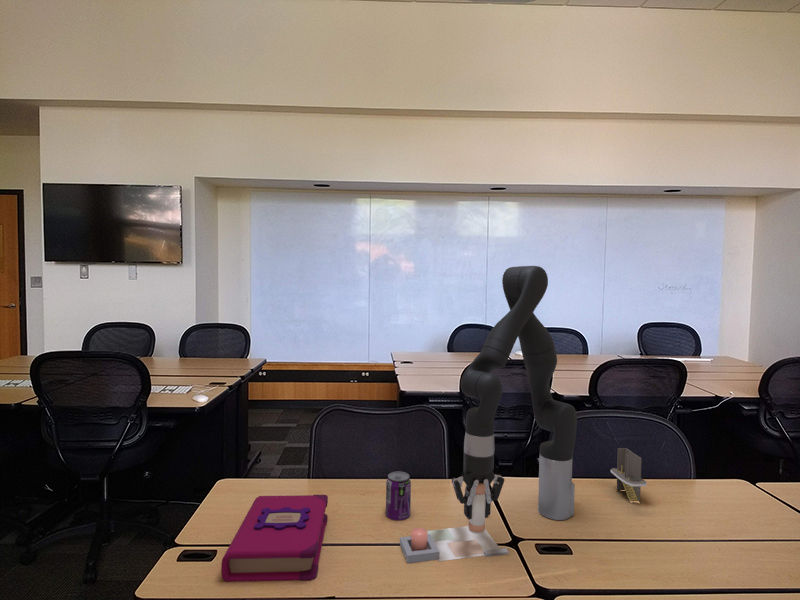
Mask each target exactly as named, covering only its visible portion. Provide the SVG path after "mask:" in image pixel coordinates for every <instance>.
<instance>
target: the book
mask: <svg viewBox="0 0 800 600" xmlns="http://www.w3.org/2000/svg"><path fill="white" fill-rule="evenodd" d="M328 497H329V496H328V495H326V494H313V495H311V494H310V495H308V494H307V495H305V494H303V495H302V494H301V495H258V496H257V497H256V498H255V499H254V500H253V503H252V504H251V506H250V508H249V509H248V511H247V514H246V515H245V517H244V519H243V521H242V522H241V524H240V525H239V528H238V530H237V532H236V534H235V536H234V537H233V539H232V541H231V543H230V544H229V546H228V548H227V550H226V552H224V553H225V554H224V555H223V557H222V559H221V565H220V566H221V567H220V569H221V571H220V572H221V578H222V579H223V581H224V582H225V583H234V582H235V583H237V582H241V583H243V582H245V583H246V582H278V581H280V582H283V581H285V582H286V581H288V582H291V581H299V582H302V581H303V582H304V581H306V582H307V581H311V582H312V581H313V580H315V579H316V578H317V577H318V573H319V572H318V571H319V563H320V556H321V554H322V553H321V552H322V547H323V542H324V538H325V537H324V536H325V532H326V531H325V530H326V527H327V523H328V521H329V519H328V514H327V513H326V511H327V510H326V509H327V507H328V502H329V498H328Z"/></svg>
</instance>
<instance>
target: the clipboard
mask: <svg viewBox="0 0 800 600" xmlns="http://www.w3.org/2000/svg"><path fill="white" fill-rule="evenodd" d="M427 532H428V533H427V534H430V535H431V537H432V539H433V541H434V542H435V544H436V546H437V548H438V550H439V552H440V556H439V559H437V562H444V561H453V560H461V559H467V558H475V557H483V556H485V558H490V557H498V556H505V555H509V554H510V551H508V549H507V547H502V548H501V547H500V546H499V545H498V544H497V542H496V541H495V539H493V537H492V536H491V535H490V533H489V532H488V531H487V529H485V531H484V533H482V534H474V533H472V532H470V531H469V525H467V526H458V527H448V528H442V529H441V528H440V529H431V530H430V529H429V530H427Z"/></svg>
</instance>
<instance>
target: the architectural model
mask: <svg viewBox="0 0 800 600" xmlns="http://www.w3.org/2000/svg"><path fill="white" fill-rule="evenodd" d="M616 464H617V465H616V467H617V468H615V467H612V468H611V469H610V473H611V474H612V475H613V476H615V477H616V490H625V491H626V492H625V491H624V492H625V493H626V496H627V498H628V501H629V502H630V501H639V502H640V503H641V487H646V486H647V484H648V482H647V481H646V480H645V479H644V478H642V457H640V456H639V455H637V454H636V453H634V452H633V451H631V450H630V449H628V448H627V447H626V448H625V447H624V448H623V447H622V448H621V447H619V448H617V463H616Z"/></svg>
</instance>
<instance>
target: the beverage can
mask: <svg viewBox="0 0 800 600" xmlns="http://www.w3.org/2000/svg"><path fill="white" fill-rule="evenodd" d="M385 484H386V486H385V490H386V491H385V516H386V517H387V518H388V519H390V520H391V521H392V520H393V521H404V520H407V519H409V518H410V517H411V504H412V503H411V502H412V501H411V498H412V495H411V493H412V489H411V488H412V482H411V479H410V474H409V473H407V472H405V471H392V472H390V473H389V474H387V479H386V481H385Z"/></svg>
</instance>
